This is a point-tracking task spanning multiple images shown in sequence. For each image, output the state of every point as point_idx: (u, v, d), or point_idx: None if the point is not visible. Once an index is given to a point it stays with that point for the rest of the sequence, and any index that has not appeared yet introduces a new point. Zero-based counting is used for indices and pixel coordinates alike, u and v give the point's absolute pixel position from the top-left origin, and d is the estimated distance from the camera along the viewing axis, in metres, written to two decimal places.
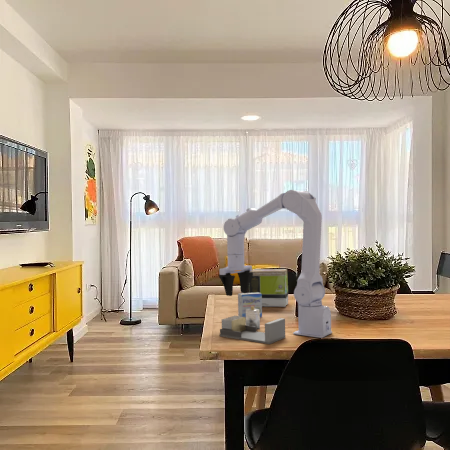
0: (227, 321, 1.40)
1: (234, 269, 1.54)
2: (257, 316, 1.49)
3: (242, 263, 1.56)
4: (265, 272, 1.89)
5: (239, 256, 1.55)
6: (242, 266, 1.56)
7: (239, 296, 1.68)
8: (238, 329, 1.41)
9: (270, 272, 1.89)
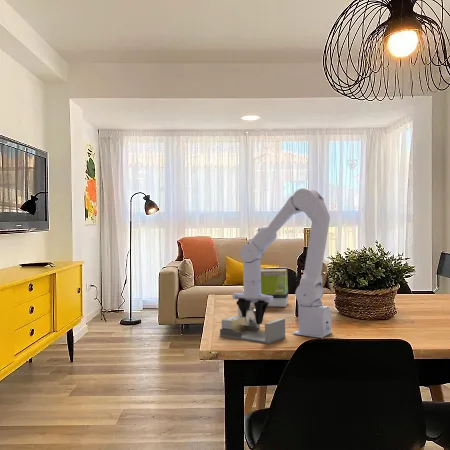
0: (227, 321, 1.40)
1: (240, 295, 1.51)
2: None
3: (247, 291, 1.48)
4: (265, 272, 1.89)
5: (244, 283, 1.49)
6: (247, 294, 1.48)
7: None
8: (238, 329, 1.41)
9: (270, 272, 1.89)
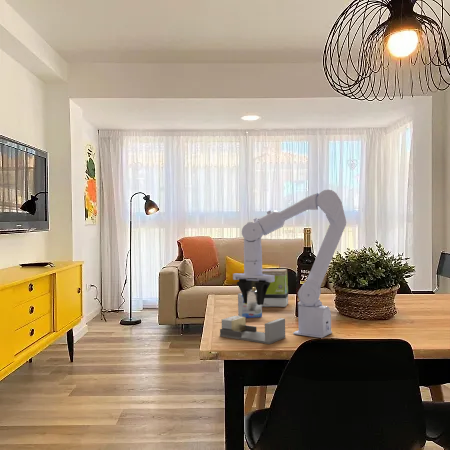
0: (227, 321, 1.40)
1: (241, 276, 1.46)
2: None
3: (248, 271, 1.44)
4: (265, 272, 1.89)
5: (245, 263, 1.45)
6: (248, 274, 1.44)
7: (239, 296, 1.68)
8: (238, 329, 1.41)
9: (270, 272, 1.89)
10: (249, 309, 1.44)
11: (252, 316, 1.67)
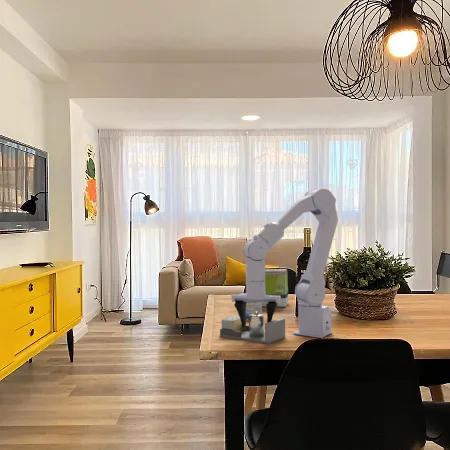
0: (227, 321, 1.40)
1: (243, 297, 1.37)
2: (263, 322, 1.37)
3: (253, 292, 1.35)
4: (265, 272, 1.89)
5: (249, 283, 1.36)
6: (253, 295, 1.35)
7: None
8: (238, 329, 1.41)
9: (270, 272, 1.89)
10: (254, 335, 1.36)
11: None
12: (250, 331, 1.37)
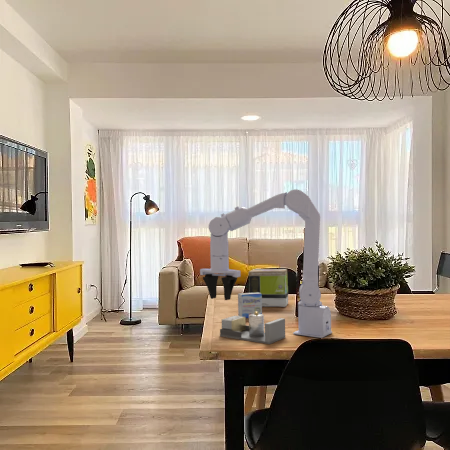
0: (227, 321, 1.40)
1: (207, 271, 1.46)
2: (263, 322, 1.37)
3: (214, 266, 1.43)
4: (265, 272, 1.89)
5: (211, 258, 1.44)
6: (214, 269, 1.44)
7: (239, 296, 1.68)
8: (238, 329, 1.41)
9: (270, 272, 1.89)
10: (254, 335, 1.36)
11: None
12: (250, 331, 1.37)
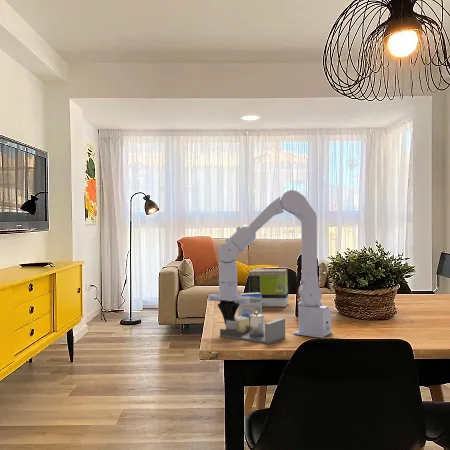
0: (231, 322, 1.39)
1: (216, 297, 1.44)
2: (263, 322, 1.37)
3: (223, 292, 1.42)
4: (265, 272, 1.89)
5: (220, 284, 1.42)
6: (223, 296, 1.42)
7: None
8: (242, 330, 1.40)
9: (270, 272, 1.89)
10: (254, 335, 1.36)
11: None
12: (250, 331, 1.37)
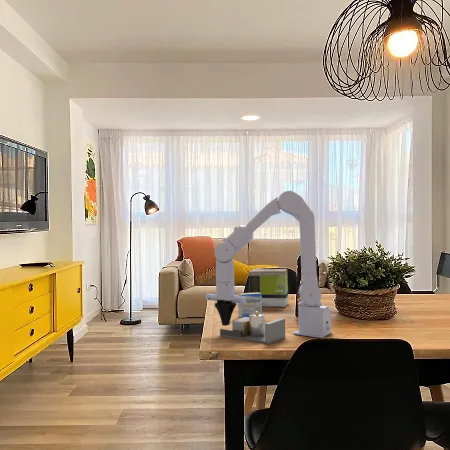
0: (238, 322, 1.37)
1: (213, 296, 1.45)
2: (263, 322, 1.37)
3: (220, 292, 1.42)
4: (265, 272, 1.89)
5: (217, 284, 1.43)
6: (220, 295, 1.42)
7: None
8: (249, 331, 1.39)
9: (270, 272, 1.89)
10: (254, 335, 1.36)
11: None
12: (250, 331, 1.37)
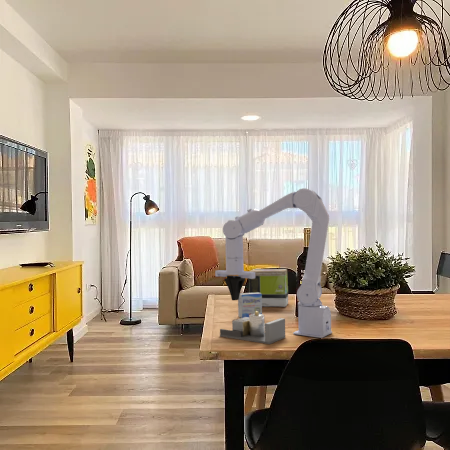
0: (238, 322, 1.37)
1: (223, 272, 1.50)
2: (263, 322, 1.37)
3: (229, 267, 1.47)
4: (265, 272, 1.89)
5: (226, 260, 1.48)
6: (229, 271, 1.47)
7: (239, 296, 1.68)
8: (249, 331, 1.39)
9: (270, 272, 1.89)
10: (254, 335, 1.36)
11: None
12: (250, 331, 1.37)
